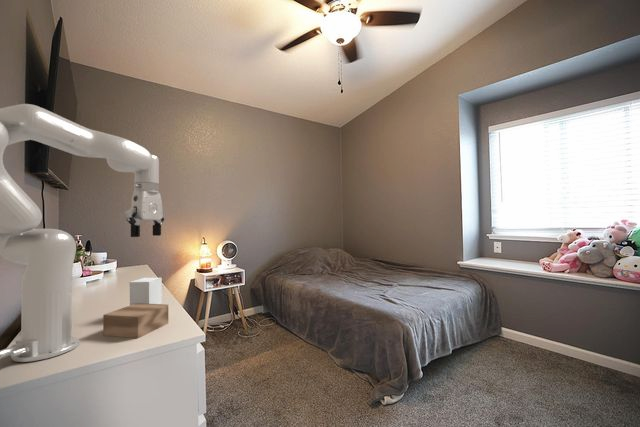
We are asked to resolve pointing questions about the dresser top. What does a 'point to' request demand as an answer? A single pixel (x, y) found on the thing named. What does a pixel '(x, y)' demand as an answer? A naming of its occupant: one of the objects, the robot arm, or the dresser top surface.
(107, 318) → the walnut block
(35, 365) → the dresser top surface
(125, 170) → the robot arm
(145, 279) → the supplement box
